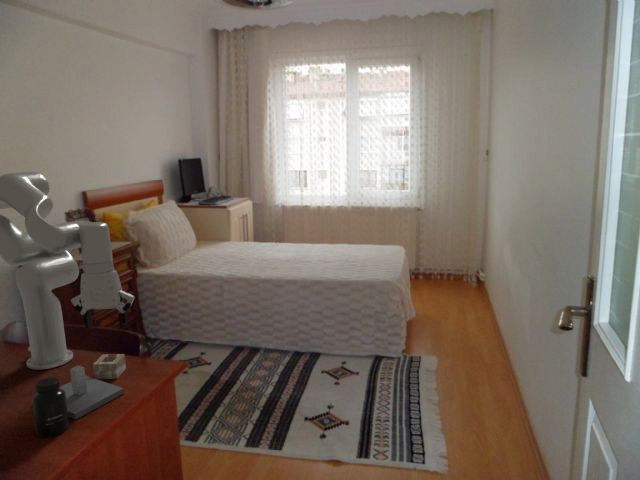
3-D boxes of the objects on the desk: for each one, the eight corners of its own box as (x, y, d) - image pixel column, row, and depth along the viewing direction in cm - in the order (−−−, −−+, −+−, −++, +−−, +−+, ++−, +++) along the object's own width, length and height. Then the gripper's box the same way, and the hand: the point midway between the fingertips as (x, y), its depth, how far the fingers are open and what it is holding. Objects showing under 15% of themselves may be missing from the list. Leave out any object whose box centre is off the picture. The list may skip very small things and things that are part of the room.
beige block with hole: (94, 379, 138) (92, 363, 137) (104, 368, 144) (102, 353, 143) (117, 378, 138) (115, 363, 137) (126, 368, 144) (124, 353, 143)
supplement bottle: (55, 439, 110) (48, 390, 108) (29, 436, 111) (22, 388, 109) (76, 422, 117) (70, 376, 114) (51, 419, 118) (44, 373, 116)
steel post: (73, 394, 127) (69, 369, 125) (81, 390, 129) (78, 365, 127) (79, 396, 126) (75, 371, 124) (87, 392, 128) (84, 367, 126)
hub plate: (36, 403, 125) (35, 398, 125) (85, 380, 137) (84, 375, 137) (75, 419, 118) (74, 414, 117) (123, 393, 130) (123, 388, 129)
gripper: (60, 272, 131) (69, 332, 134) (125, 269, 131) (132, 329, 134) (74, 265, 138) (81, 322, 142) (135, 262, 138) (141, 320, 142)
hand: (106, 326), depth 138 cm, fingers open, 9 cm apart
